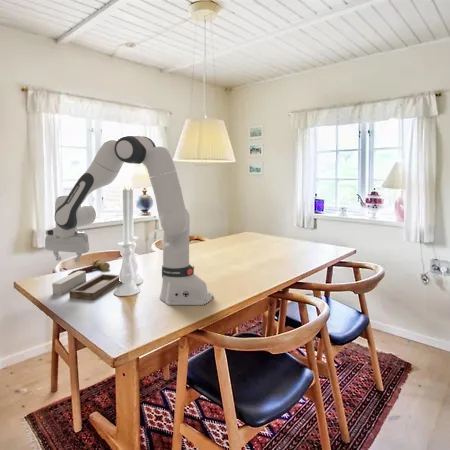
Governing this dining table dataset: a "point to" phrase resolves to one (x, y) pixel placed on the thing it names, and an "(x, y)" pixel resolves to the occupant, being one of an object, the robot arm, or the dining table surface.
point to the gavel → (94, 266)
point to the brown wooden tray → (95, 287)
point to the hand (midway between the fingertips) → (67, 261)
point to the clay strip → (69, 282)
